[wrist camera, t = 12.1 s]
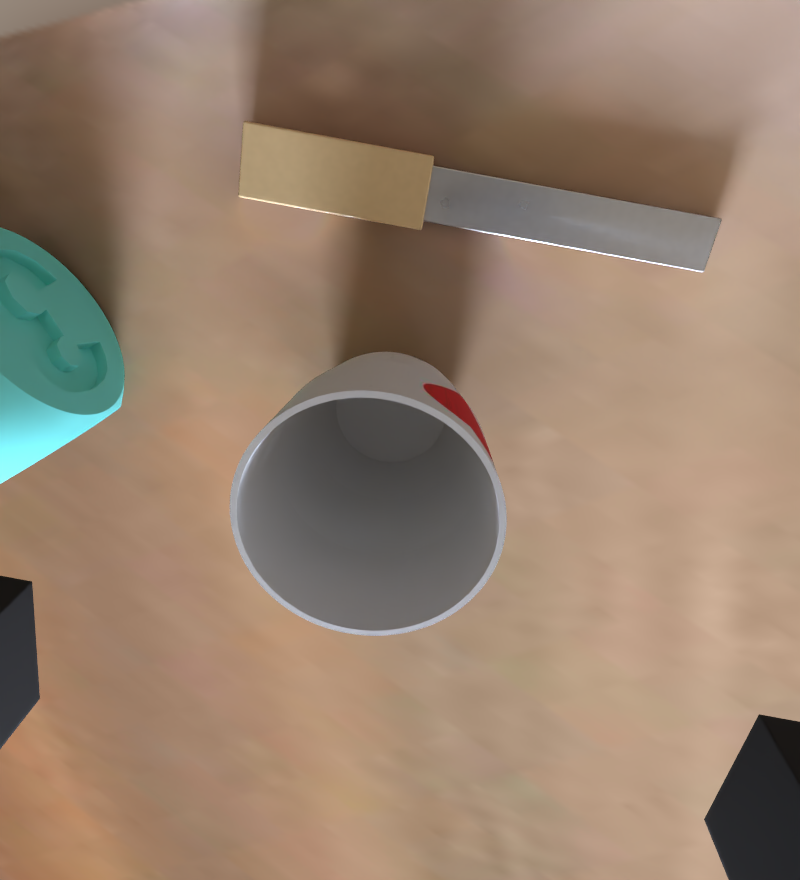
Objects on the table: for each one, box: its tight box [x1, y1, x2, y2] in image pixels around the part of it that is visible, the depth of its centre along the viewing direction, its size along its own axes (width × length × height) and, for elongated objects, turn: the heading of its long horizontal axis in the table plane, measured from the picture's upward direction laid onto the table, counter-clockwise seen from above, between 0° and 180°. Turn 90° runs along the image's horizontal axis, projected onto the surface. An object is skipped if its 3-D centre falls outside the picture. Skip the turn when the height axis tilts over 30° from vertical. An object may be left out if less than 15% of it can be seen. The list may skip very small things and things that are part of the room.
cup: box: [230, 352, 507, 636], centre depth 23 cm, size 8×8×10 cm
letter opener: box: [238, 121, 722, 272], centre depth 24 cm, size 18×3×1 cm, turn 80°
